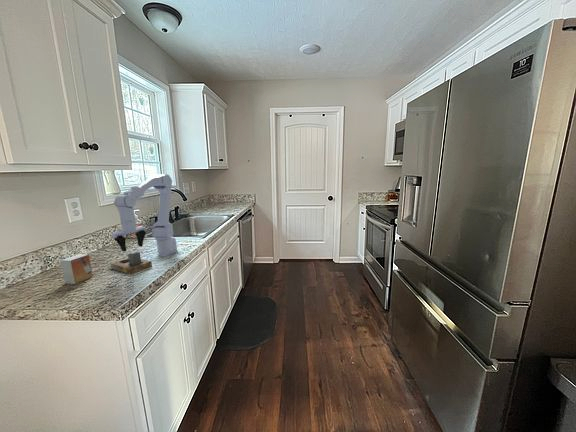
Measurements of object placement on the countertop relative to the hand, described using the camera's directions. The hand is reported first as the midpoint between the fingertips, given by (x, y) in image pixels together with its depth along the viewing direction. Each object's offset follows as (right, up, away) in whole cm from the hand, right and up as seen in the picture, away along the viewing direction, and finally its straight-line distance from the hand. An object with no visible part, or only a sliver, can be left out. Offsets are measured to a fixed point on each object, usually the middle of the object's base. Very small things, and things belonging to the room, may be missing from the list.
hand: (132, 248), depth 115 cm
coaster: (-9, -8, +14) cm, 18 cm away
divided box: (-2, -10, +2) cm, 10 cm away
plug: (+2, -9, 0) cm, 10 cm away
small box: (-17, -13, -9) cm, 23 cm away
